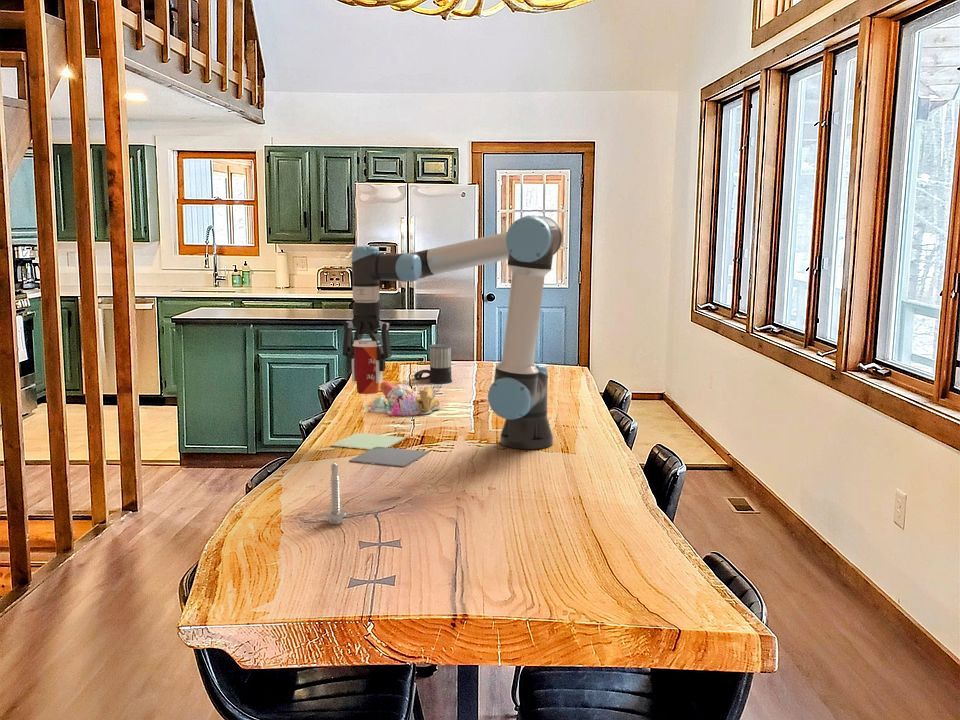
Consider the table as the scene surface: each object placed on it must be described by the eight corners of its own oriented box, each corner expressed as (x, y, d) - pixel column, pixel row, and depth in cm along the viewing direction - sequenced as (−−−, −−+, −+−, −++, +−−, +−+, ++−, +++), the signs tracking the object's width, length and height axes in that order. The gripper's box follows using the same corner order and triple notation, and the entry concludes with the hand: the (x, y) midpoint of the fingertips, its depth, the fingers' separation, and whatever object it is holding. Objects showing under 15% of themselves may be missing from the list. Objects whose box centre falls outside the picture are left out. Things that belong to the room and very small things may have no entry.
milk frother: (451, 384, 356) (451, 346, 354) (411, 383, 356) (411, 346, 354) (453, 378, 370) (453, 342, 368) (415, 377, 370) (414, 342, 368)
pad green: (405, 438, 264) (405, 437, 264) (381, 451, 250) (381, 449, 249) (356, 434, 270) (356, 433, 270) (330, 446, 255) (330, 445, 255)
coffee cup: (377, 395, 253) (376, 342, 250) (349, 394, 254) (348, 341, 252) (386, 390, 261) (385, 338, 258) (358, 388, 262) (358, 337, 260)
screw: (319, 523, 189) (336, 517, 193) (334, 528, 186) (352, 522, 190) (317, 463, 187) (335, 458, 191) (333, 467, 184) (351, 462, 188)
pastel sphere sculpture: (445, 404, 317) (445, 378, 316) (435, 418, 294) (435, 390, 293) (375, 402, 320) (374, 377, 318) (360, 416, 296) (360, 389, 295)
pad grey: (428, 452, 248) (428, 451, 248) (404, 467, 233) (404, 465, 233) (376, 447, 253) (376, 446, 253) (349, 461, 238) (349, 460, 238)
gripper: (328, 301, 253) (330, 381, 257) (392, 303, 247) (393, 386, 250) (341, 299, 260) (342, 377, 264) (403, 301, 254) (404, 381, 257)
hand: (367, 381), depth 257 cm, fingers closed on coffee cup, 7 cm apart
